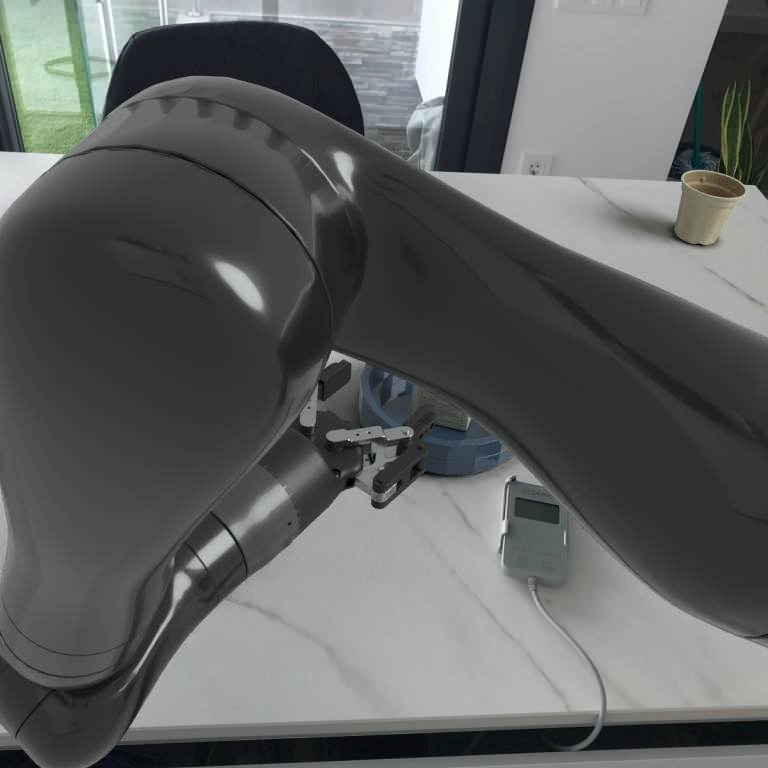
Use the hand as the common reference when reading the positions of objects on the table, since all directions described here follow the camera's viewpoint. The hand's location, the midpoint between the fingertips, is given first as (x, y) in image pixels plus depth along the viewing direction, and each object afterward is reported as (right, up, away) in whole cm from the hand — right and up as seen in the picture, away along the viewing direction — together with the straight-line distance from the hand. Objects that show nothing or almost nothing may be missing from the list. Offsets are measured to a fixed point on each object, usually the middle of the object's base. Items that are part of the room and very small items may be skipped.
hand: (388, 389), depth 65 cm
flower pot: (+47, +23, +54) cm, 75 cm away
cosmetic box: (+6, -3, +17) cm, 18 cm away
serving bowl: (+6, -3, +17) cm, 18 cm away
